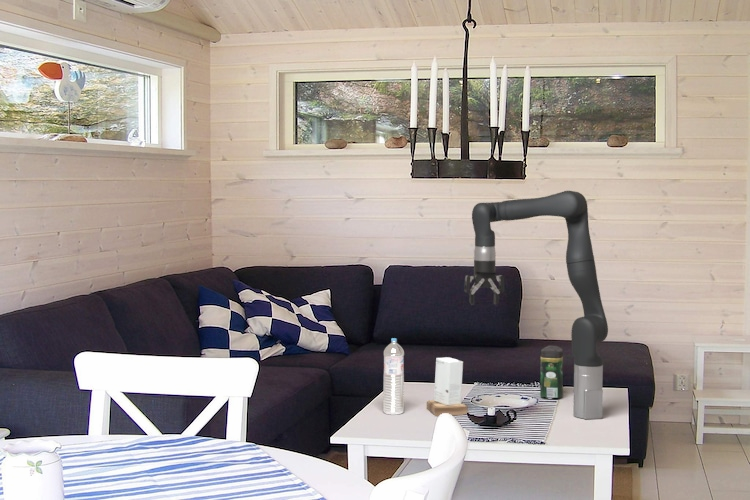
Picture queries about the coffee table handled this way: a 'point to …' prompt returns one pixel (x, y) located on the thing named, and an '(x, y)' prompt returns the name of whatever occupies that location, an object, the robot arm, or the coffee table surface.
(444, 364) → the skincare box
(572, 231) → the robot arm
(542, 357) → the coffee jar
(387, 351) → the water bottle
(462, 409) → the plinth
